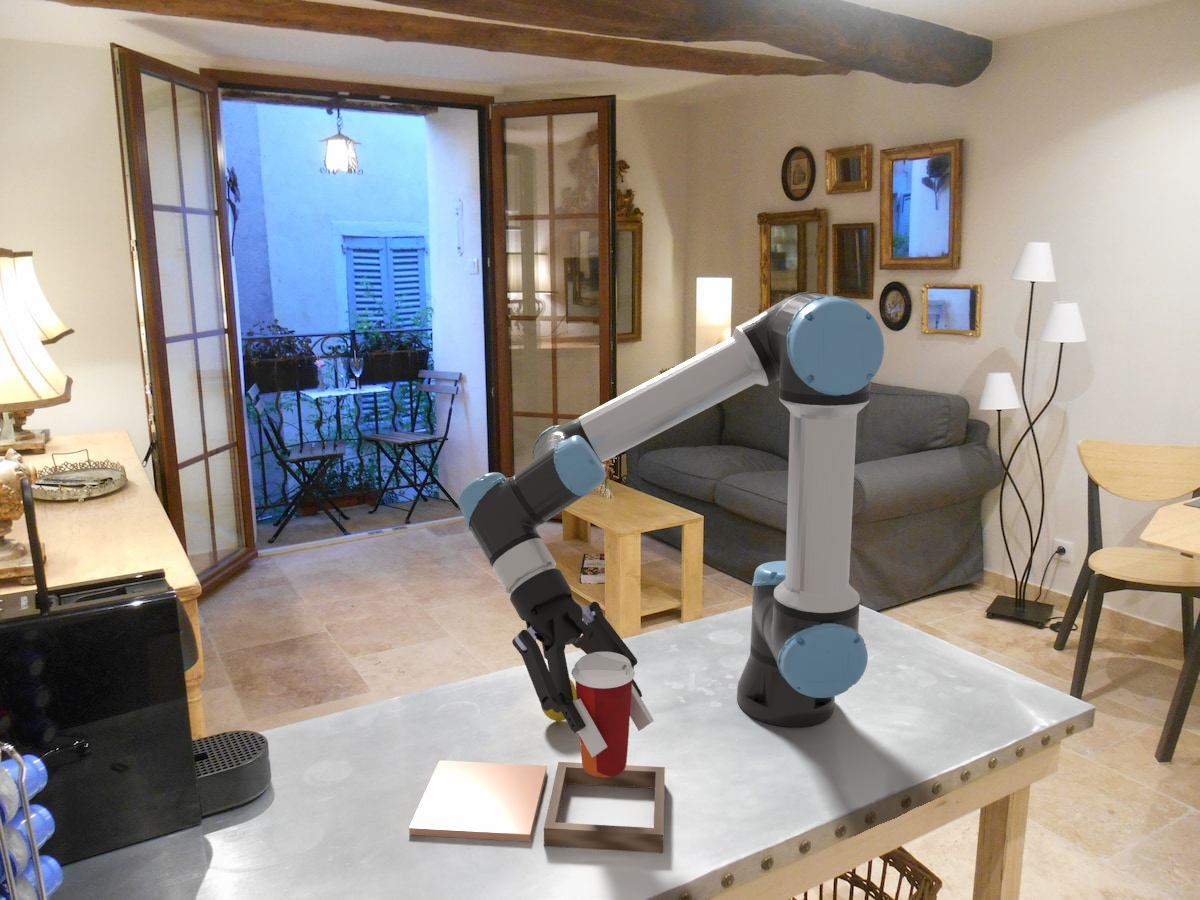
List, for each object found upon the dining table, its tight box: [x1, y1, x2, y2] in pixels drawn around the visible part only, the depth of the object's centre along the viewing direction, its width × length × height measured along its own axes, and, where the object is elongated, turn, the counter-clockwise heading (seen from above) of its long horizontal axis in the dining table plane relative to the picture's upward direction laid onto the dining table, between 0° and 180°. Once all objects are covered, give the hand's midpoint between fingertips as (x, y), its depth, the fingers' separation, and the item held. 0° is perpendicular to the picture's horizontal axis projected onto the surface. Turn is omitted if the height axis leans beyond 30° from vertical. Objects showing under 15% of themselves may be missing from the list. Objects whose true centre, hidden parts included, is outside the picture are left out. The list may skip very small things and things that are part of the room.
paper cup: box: [570, 652, 636, 778], centre depth 115 cm, size 8×8×14 cm
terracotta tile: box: [408, 759, 548, 842], centre depth 120 cm, size 15×15×1 cm
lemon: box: [540, 678, 577, 723], centre depth 139 cm, size 6×6×8 cm
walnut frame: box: [543, 761, 666, 854], centre depth 118 cm, size 14×14×2 cm
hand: (623, 738), depth 113 cm, fingers closed on paper cup, 8 cm apart
